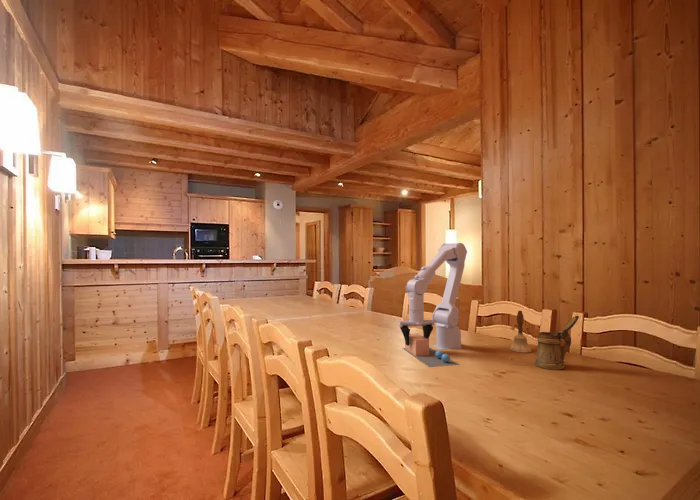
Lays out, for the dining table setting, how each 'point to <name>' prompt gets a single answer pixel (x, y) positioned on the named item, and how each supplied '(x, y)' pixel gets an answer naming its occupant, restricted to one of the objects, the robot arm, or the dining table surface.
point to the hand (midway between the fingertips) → (416, 344)
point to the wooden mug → (553, 347)
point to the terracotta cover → (418, 345)
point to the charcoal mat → (433, 359)
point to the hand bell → (520, 337)
